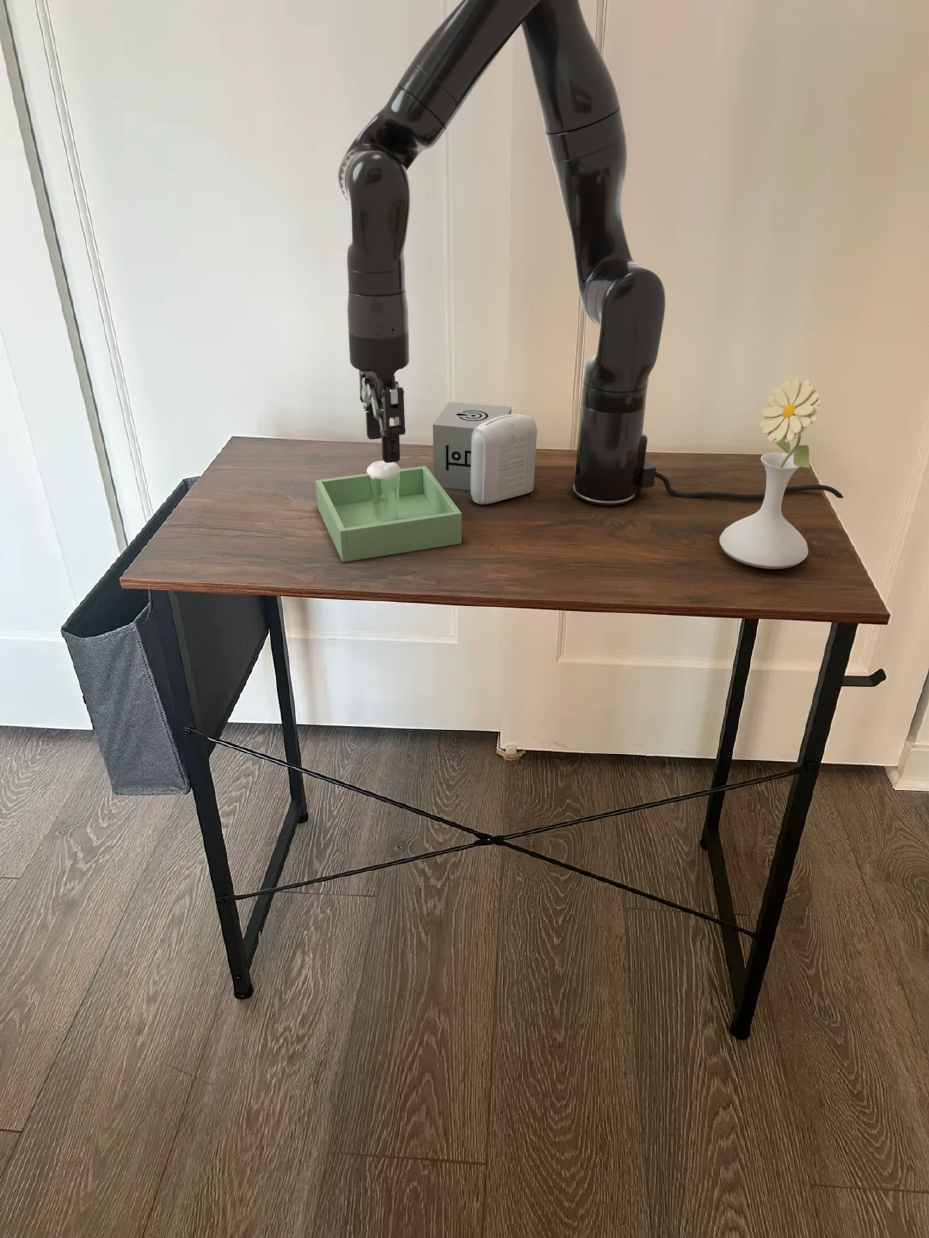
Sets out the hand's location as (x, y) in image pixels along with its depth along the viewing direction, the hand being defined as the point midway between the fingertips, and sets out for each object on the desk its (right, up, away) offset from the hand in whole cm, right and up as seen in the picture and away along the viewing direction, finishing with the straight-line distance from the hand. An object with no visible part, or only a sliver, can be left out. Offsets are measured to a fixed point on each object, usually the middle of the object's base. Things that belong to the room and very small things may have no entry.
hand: (383, 449), depth 120 cm
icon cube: (+12, -1, +21) cm, 24 cm away
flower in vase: (+51, -15, -1) cm, 53 cm away
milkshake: (0, -9, +6) cm, 11 cm away
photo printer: (+17, -4, +15) cm, 23 cm away
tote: (0, -10, +6) cm, 12 cm away
